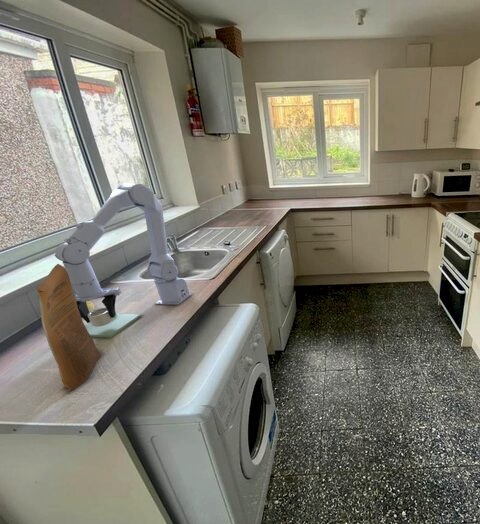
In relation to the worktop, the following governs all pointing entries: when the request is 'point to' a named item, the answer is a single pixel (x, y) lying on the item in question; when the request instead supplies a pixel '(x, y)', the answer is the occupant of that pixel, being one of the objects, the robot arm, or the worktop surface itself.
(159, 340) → the worktop surface
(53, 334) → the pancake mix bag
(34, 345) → the worktop surface
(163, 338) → the worktop surface
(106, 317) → the cup
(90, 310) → the bread roll
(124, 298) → the worktop surface
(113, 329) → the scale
